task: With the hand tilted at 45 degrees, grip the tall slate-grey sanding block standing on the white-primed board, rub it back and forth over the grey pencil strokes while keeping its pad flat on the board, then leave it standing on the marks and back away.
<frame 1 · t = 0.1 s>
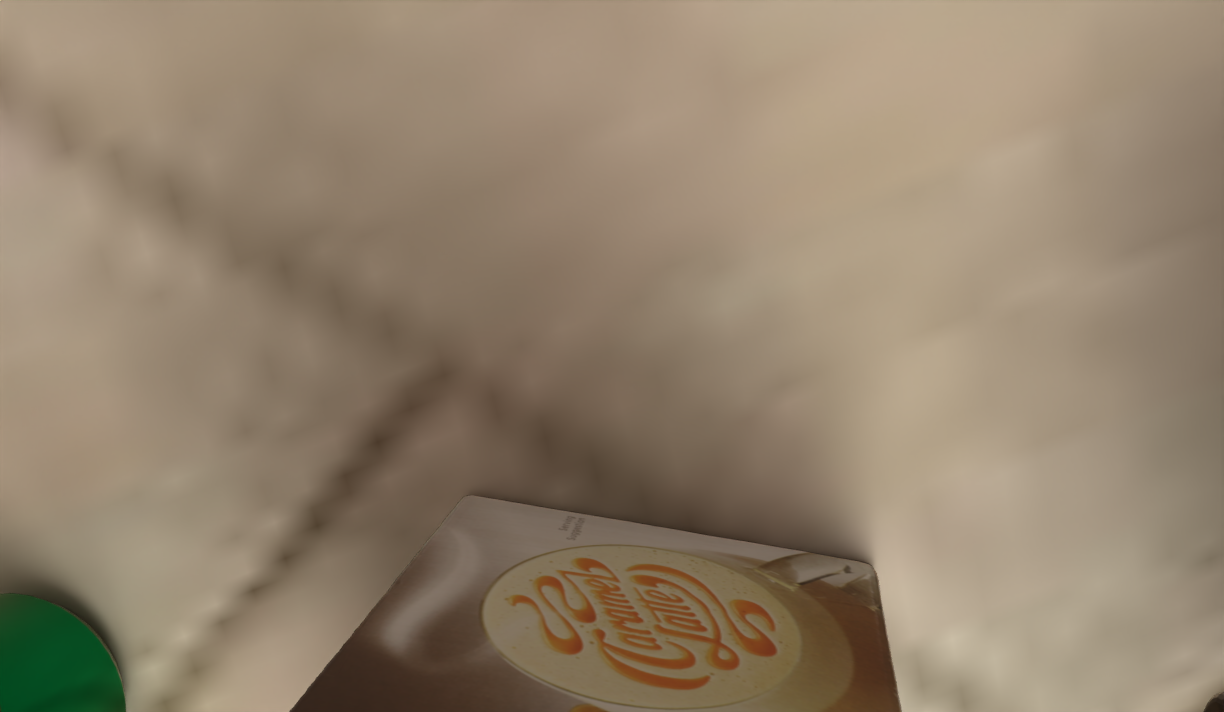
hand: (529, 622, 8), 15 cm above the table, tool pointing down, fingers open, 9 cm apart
coffee box: (656, 652, 25), on the table
soda can: (49, 676, 28), on the table
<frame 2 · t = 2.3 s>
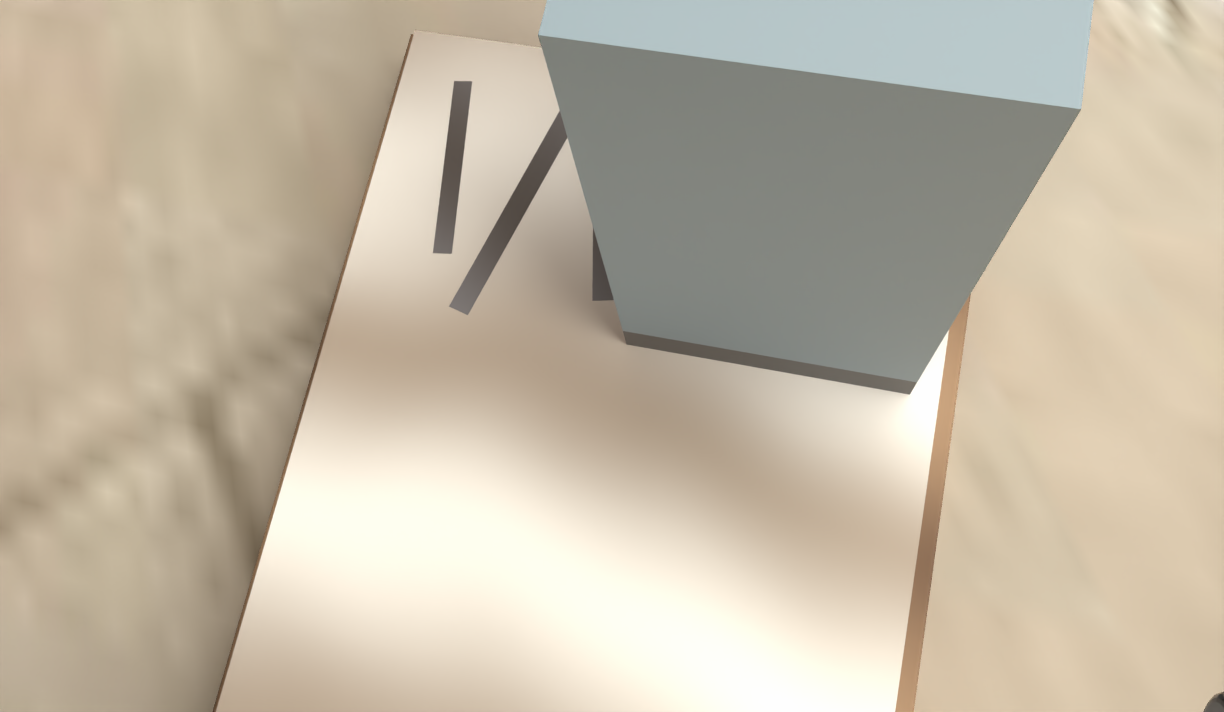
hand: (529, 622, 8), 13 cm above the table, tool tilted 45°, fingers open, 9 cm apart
sanding block: (789, 238, 21), point 2 cm above the table, touching board
board: (660, 257, 23), on the table
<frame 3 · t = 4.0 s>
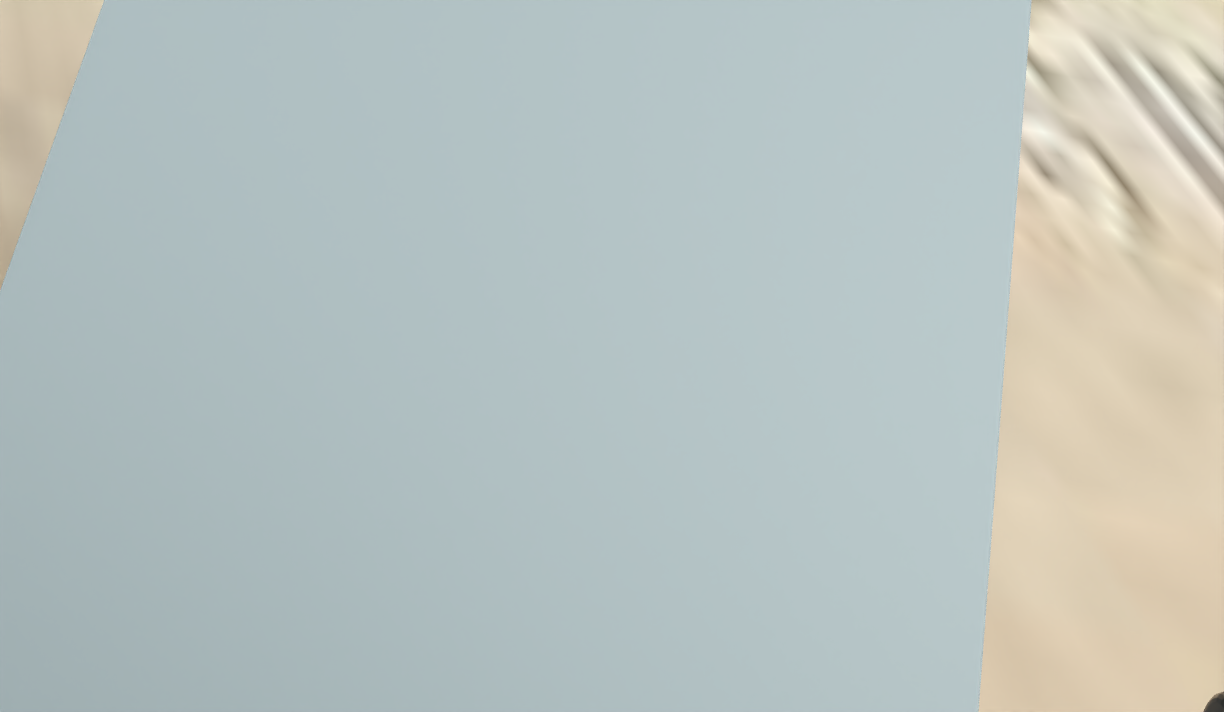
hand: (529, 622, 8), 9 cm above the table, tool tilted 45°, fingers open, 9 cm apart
sanding block: (629, 566, 15), point 2 cm above the table, touching board
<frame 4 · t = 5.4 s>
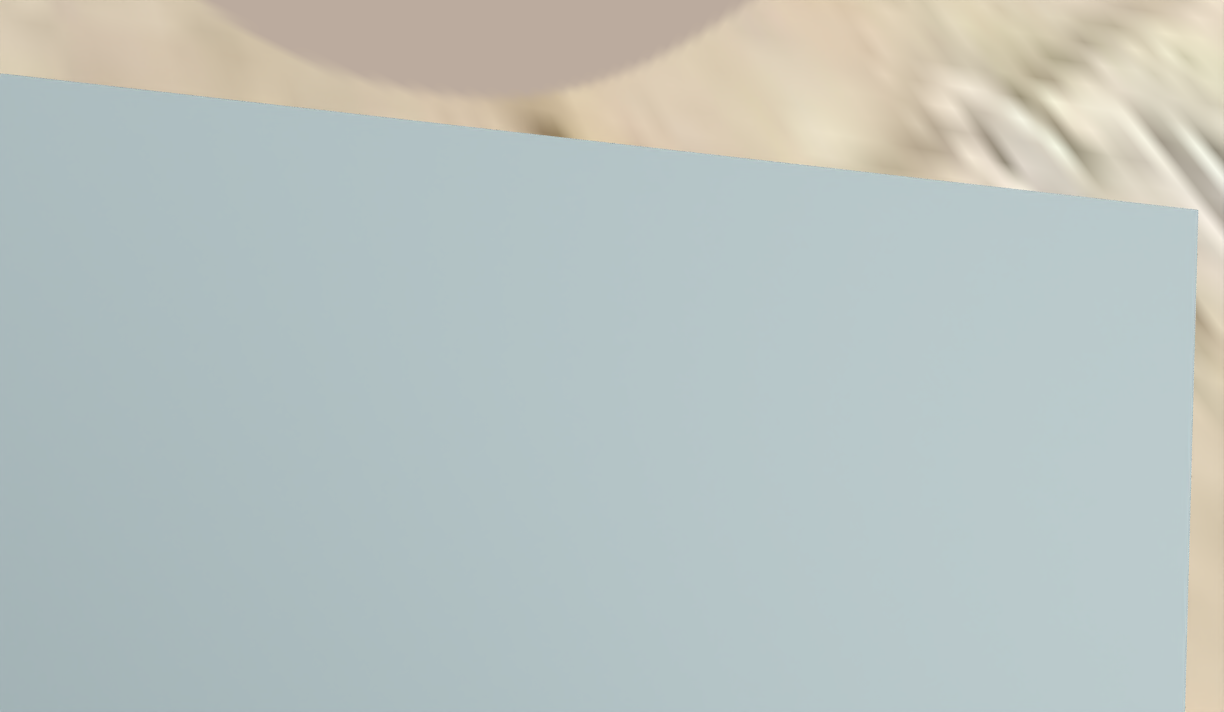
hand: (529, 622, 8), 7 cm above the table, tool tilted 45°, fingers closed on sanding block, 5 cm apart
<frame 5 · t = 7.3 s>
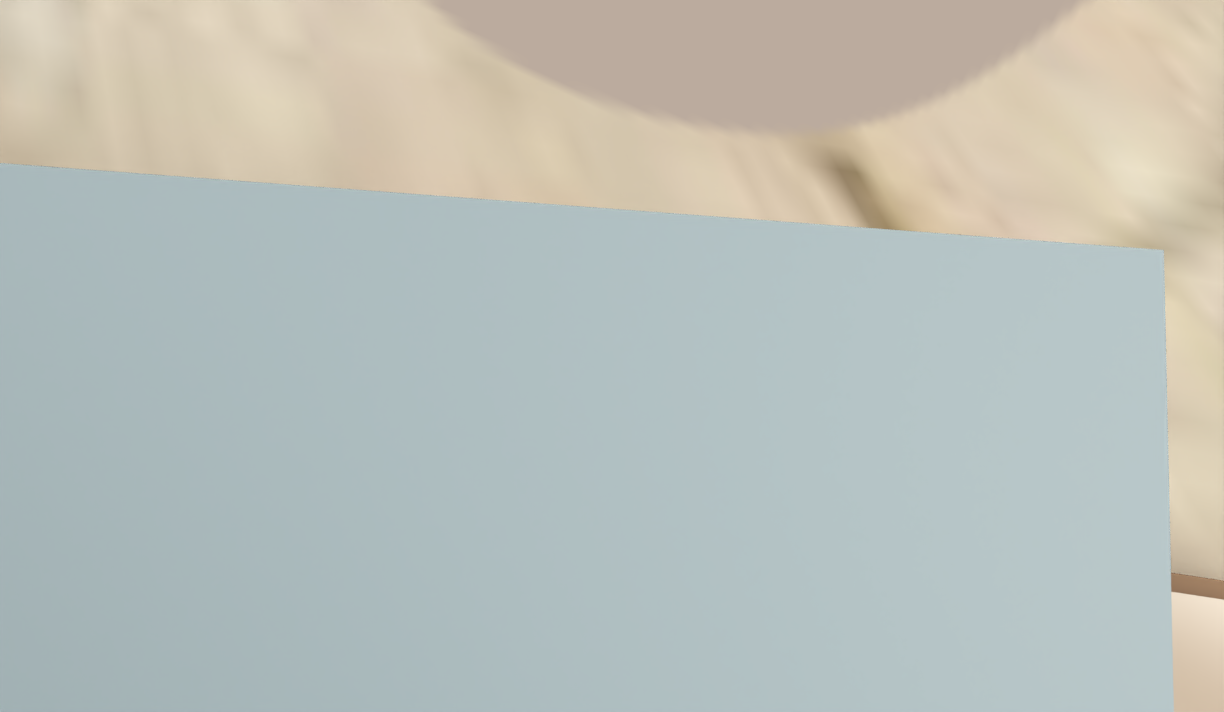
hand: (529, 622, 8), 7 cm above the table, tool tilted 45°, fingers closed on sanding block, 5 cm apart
when the fingers open (7 cm above the table, at t = 11.7 s): sanding block stays where it is, resting on board.
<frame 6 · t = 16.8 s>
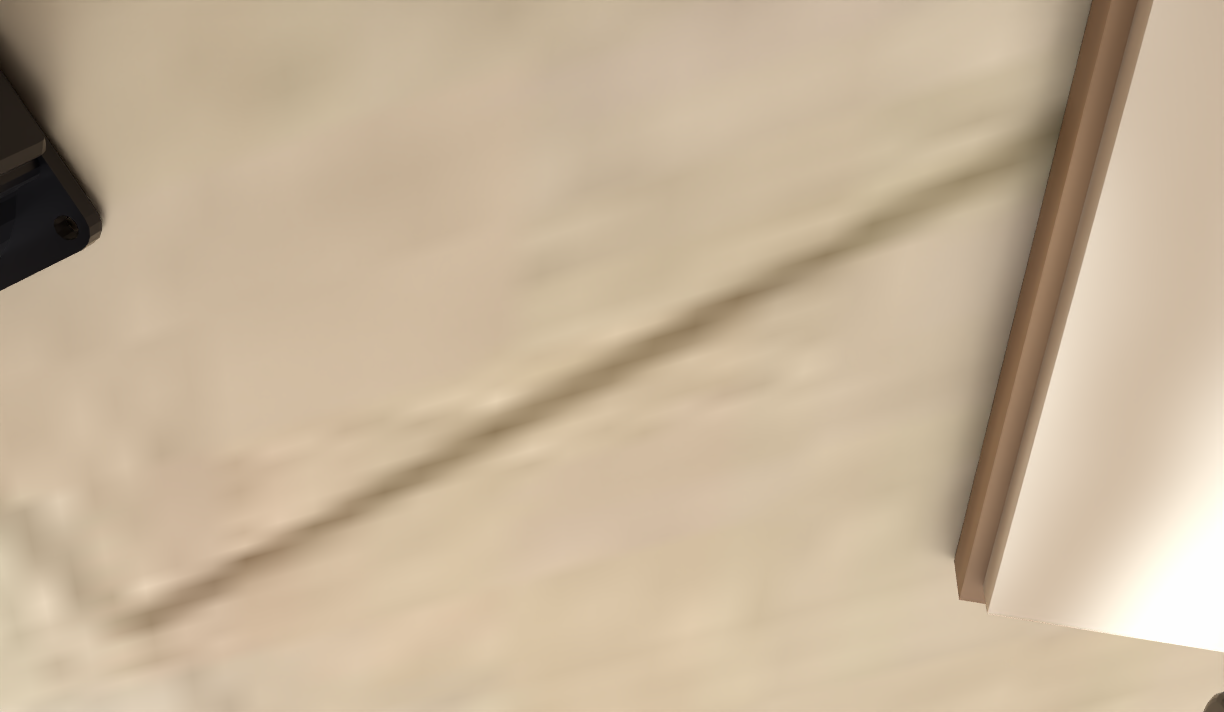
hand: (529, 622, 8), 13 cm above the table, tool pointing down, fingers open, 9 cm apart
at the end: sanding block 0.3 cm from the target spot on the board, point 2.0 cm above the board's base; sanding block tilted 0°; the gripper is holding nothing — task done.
